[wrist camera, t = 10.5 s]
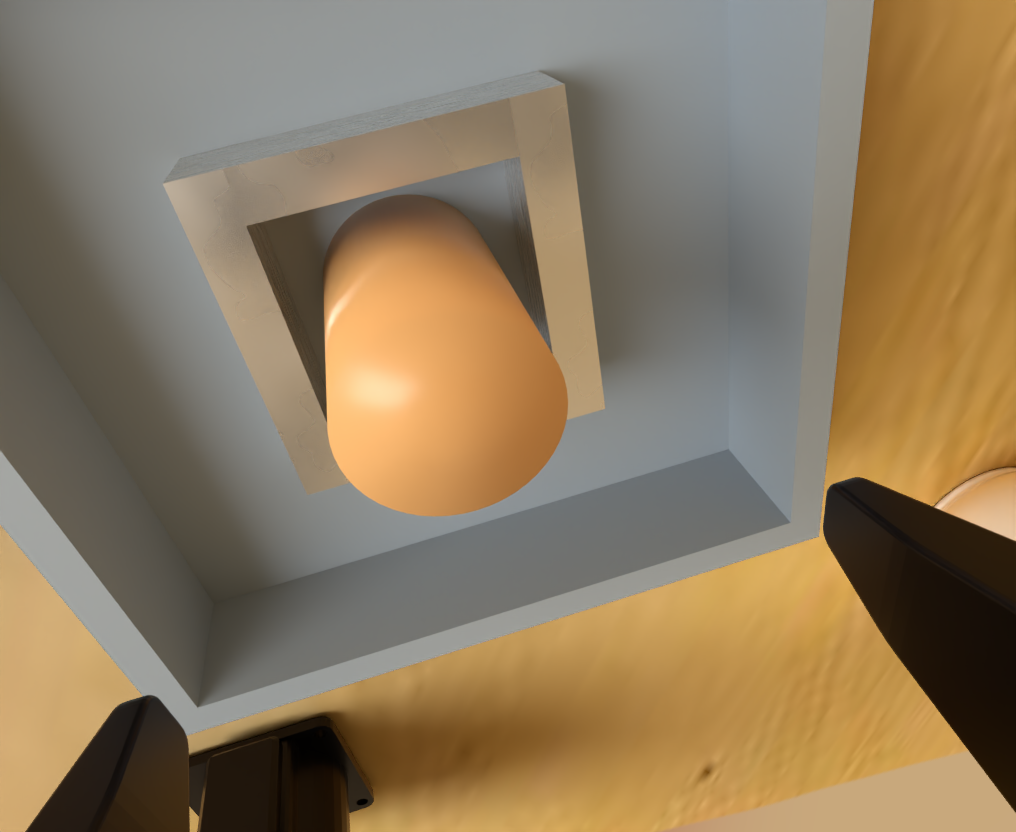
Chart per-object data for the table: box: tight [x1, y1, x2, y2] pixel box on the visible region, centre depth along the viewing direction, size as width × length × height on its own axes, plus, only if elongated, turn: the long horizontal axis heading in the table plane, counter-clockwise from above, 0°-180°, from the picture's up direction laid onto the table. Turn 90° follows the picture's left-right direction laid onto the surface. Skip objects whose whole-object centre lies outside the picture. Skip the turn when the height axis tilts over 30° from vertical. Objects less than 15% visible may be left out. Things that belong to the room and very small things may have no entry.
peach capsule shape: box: [323, 194, 568, 517], centre depth 16 cm, size 4×4×7 cm
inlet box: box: [0, 0, 874, 736], centre depth 17 cm, size 20×20×4 cm
